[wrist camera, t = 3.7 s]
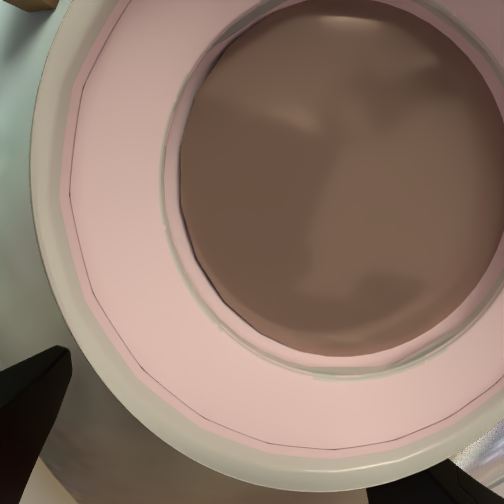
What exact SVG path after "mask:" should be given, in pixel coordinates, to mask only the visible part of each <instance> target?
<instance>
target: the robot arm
mask: <svg viewBox="0 0 504 504" xmlns="http://www.w3.org/2000/svg"><path fill="white" fill-rule="evenodd" d="M71 377H72V362H71V354H70V350H69V349H68V348H65V347H62V346H59V345H56V346H53V347H51V348H49V349H47V350H45V351H43V352H41V353H38V354H36V355H34V356H32V357H30V358H28V359H26V360H24V361H22V362H19V363H17V364H15V365H13V366H11V367H9V368H7V369H5V370H3V371H0V504H19V502H20V499H21V497H22V494H23V492H24V489H25V487H26V484H27V482H28V480H29V477H30V475H31V472H32V470H33V468H34V465H35V463H36V461H37V459H38V456H39V454H40V452H41V450H42V448H43V445H44V443H45V441H46V439H47V437H48V435H49V433H50V431H51V428H52V426H53V424H54V422H55V420H56V418H57V415H58V412H59V410H60V407H61V404H62V401H63V398H64V396H65V393H66V390H67V387H68V385H69V382H70V379H71ZM366 491H367V497H368V502H369V504H504V498H502V497H501V496H499V495H497V494H496V493H494V492H493V491H491V490H490V489H488V488H487V487H485V486H484V485H482V484H481V483H479V482H478V481H476V480H475V479H473V478H472V477H471V476H470V475H468V474H467V473H466V472H464V471H463V470H462V469H461V468H459V467H458V466H456V464H454V463H453V462H452V461H451V460H449V459H448V458H447V459H445V460H444V461H442V462H440V463H438V464H436V465H434V466H432V467H429V468H427V469H425V470H423V471H420V472H417V473H415V474H412V475H410V476H407V477H404V478H401V479H399V480H396V481H392V482H389V483H385V484H381V485H377V486H373V487H368V488H366Z"/></svg>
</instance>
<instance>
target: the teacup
mask: <svg viewBox="0 0 504 504" xmlns="http://www.w3.org/2000/svg"><path fill="white" fill-rule="evenodd" d="M29 186H30V201H31V210H32V217H33V224H34V230H35V236H36V240H37V244H38V249H39V253H40V257H41V261H42V265H43V268H44V271H45V274H46V277H47V280H48V283H49V286H50V289H51V291H52V294H53V297H54V299H55V301H56V304H57V306H58V308H59V310H60V313H61V315H62V317H63V319H64V321H65V323H66V325H67V327H68V329H69V331H70V333H71V334H72V336H73V338H74V340H75V342H76V343H77V345H78V347H79V348H80V350H81V352H82V353H83V355H84V356H85V358H86V359H87V361H88V362H89V364H90V365H91V367H92V368H93V369H94V371H95V372H96V373H97V375H98V376H99V377H100V379H101V380H102V381H103V382H104V384H105V385H106V386H107V387H108V389H109V390H110V391H111V392H112V393H113V395H114V396H115V397H116V398H117V399H118V400H119V401H120V402H121V404H122V405H123V406H124V407H125V408H126V409H127V410H128V411H129V412H130V413H131V414H132V415H133V416H134V417H135V418H136V419H137V420H139V421H140V422H141V423H142V424H143V425H144V426H145V427H146V428H148V429H149V430H150V431H151V432H152V433H154V434H155V435H156V436H157V437H159V438H160V439H161V440H163V441H164V442H165V443H167V444H168V445H170V446H171V447H173V448H174V449H176V450H177V451H179V452H180V453H182V454H183V455H185V456H187V457H188V458H190V459H192V460H194V461H196V462H197V463H199V464H201V465H203V466H205V467H207V468H210V469H212V470H214V471H216V472H219V473H221V474H223V475H226V476H229V477H231V478H234V479H237V480H240V481H244V482H247V483H251V484H255V485H259V486H263V487H268V488H273V489H279V490H287V491H297V492H339V491H349V490H356V489H362V488H368V487H373V486H377V485H381V484H385V483H389V482H392V481H396V480H399V479H401V478H404V477H407V476H410V475H412V474H415V473H417V472H420V471H423V470H425V469H427V468H429V467H432V466H434V465H436V464H438V463H440V462H442V461H444V460H445V459H447V458H449V457H451V456H453V455H454V454H456V453H458V452H459V451H461V450H463V449H464V448H466V447H467V446H469V445H470V444H472V443H473V442H475V441H476V440H477V439H479V438H480V437H482V436H483V435H484V434H486V433H487V432H488V431H489V430H491V429H492V428H493V427H494V426H496V425H497V424H498V423H499V422H500V421H501V420H503V419H504V0H73V1H72V2H71V4H70V6H69V8H68V10H67V12H66V14H65V16H64V18H63V20H62V22H61V24H60V26H59V28H58V30H57V32H56V35H55V37H54V40H53V42H52V45H51V48H50V50H49V53H48V56H47V59H46V61H45V65H44V68H43V72H42V75H41V79H40V83H39V87H38V91H37V95H36V100H35V106H34V112H33V118H32V125H31V134H30V149H29Z"/></svg>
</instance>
